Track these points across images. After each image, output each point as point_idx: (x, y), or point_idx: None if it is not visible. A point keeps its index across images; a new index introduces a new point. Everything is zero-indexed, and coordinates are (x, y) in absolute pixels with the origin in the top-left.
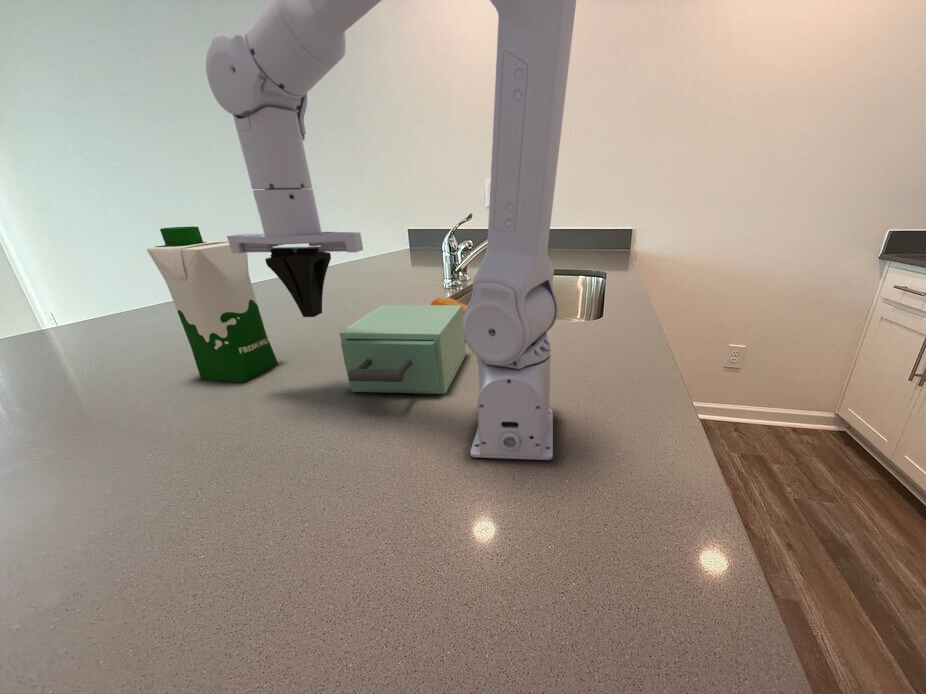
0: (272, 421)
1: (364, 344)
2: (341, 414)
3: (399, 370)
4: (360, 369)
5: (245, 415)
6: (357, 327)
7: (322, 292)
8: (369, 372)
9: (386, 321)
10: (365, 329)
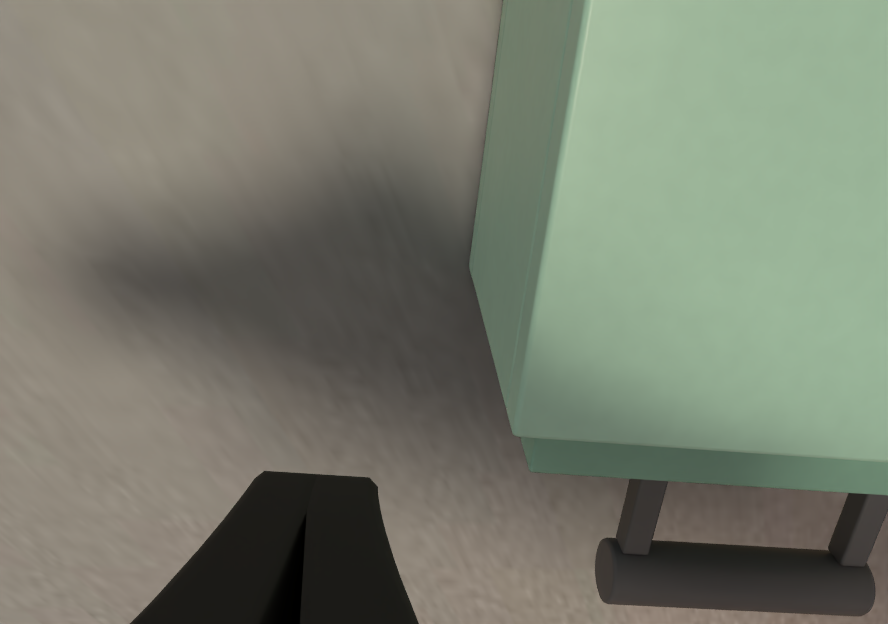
0: (234, 505)
1: (696, 482)
2: (493, 462)
3: (866, 609)
4: (668, 596)
5: (82, 462)
6: (628, 309)
7: (411, 610)
8: (714, 607)
9: (877, 135)
10: (709, 364)
